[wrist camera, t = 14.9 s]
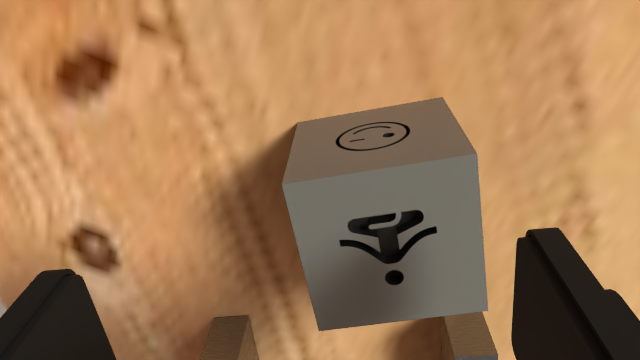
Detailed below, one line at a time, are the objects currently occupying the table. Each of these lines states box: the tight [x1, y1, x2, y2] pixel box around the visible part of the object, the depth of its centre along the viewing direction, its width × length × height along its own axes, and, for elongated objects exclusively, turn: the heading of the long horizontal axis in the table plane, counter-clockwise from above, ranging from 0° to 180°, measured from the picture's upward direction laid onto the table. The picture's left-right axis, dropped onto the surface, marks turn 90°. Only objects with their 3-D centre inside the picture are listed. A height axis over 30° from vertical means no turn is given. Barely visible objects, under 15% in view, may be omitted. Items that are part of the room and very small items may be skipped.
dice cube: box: [282, 97, 488, 331], centre depth 16 cm, size 5×5×5 cm
